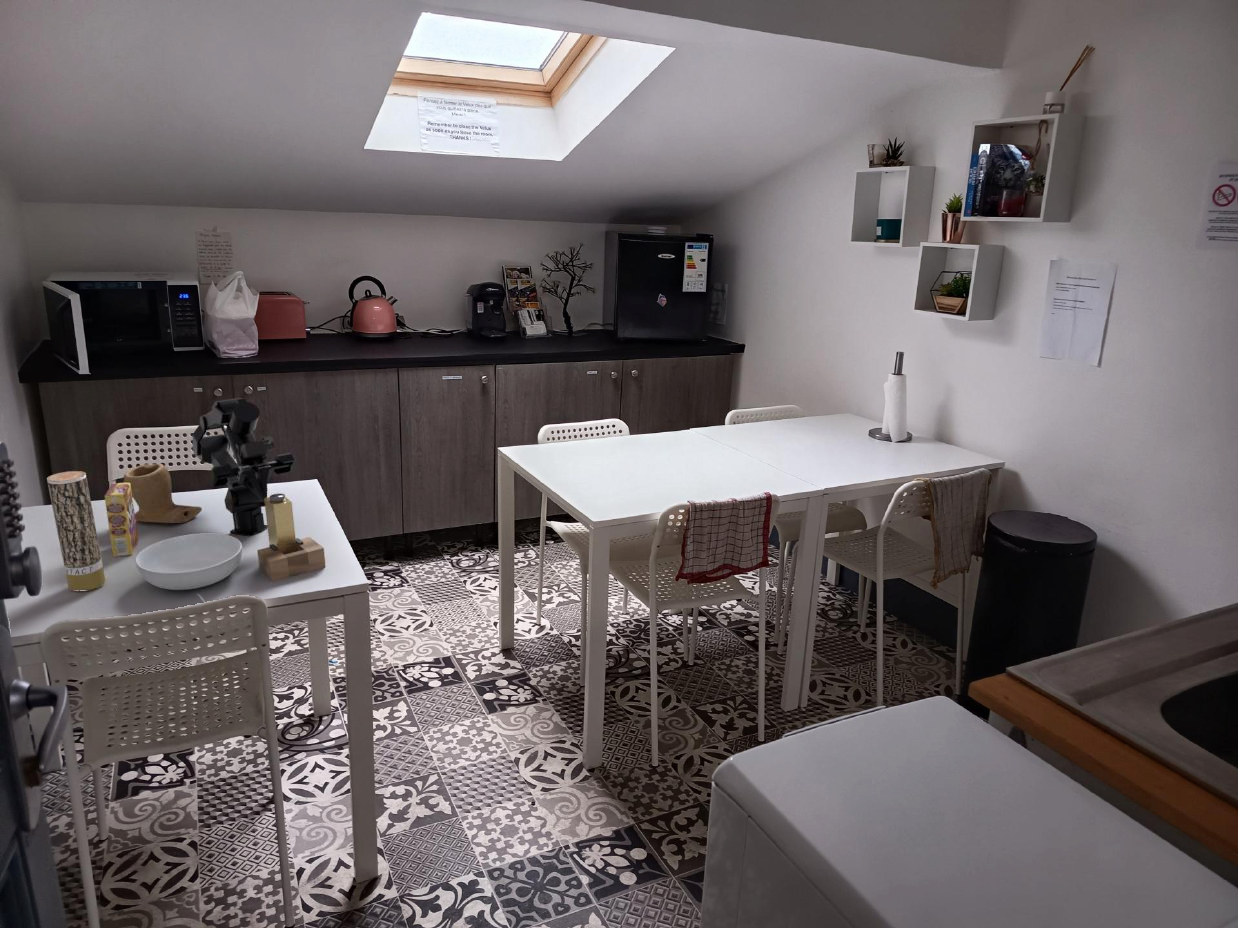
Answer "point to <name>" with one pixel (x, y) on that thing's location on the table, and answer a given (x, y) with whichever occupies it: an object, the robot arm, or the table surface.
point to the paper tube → (76, 530)
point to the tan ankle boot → (156, 495)
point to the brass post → (280, 523)
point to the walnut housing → (291, 559)
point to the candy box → (121, 519)
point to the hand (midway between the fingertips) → (265, 500)
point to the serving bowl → (189, 560)
